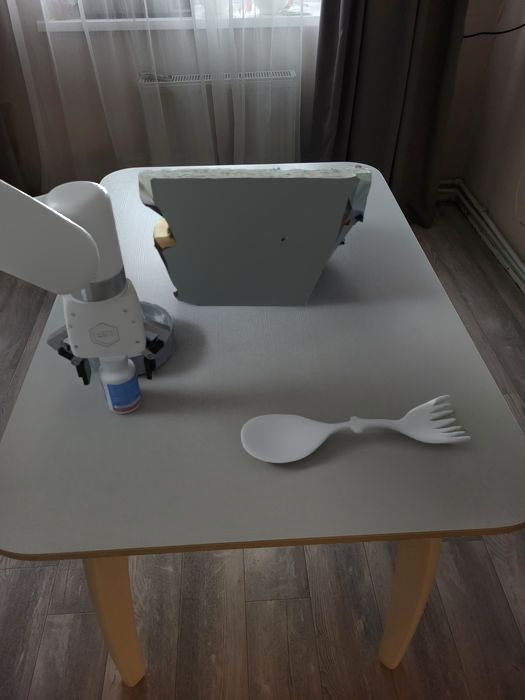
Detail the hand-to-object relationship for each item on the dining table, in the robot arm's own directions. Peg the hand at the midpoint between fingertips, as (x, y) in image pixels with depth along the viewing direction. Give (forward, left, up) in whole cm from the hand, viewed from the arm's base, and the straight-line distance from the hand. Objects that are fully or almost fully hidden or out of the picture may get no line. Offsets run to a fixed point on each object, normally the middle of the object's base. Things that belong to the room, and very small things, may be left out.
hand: (119, 376), depth 83 cm
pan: (+5, +12, -6) cm, 14 cm away
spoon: (+25, -24, -6) cm, 36 cm away
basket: (+37, +22, -6) cm, 44 cm away
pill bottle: (0, 0, -6) cm, 6 cm away
